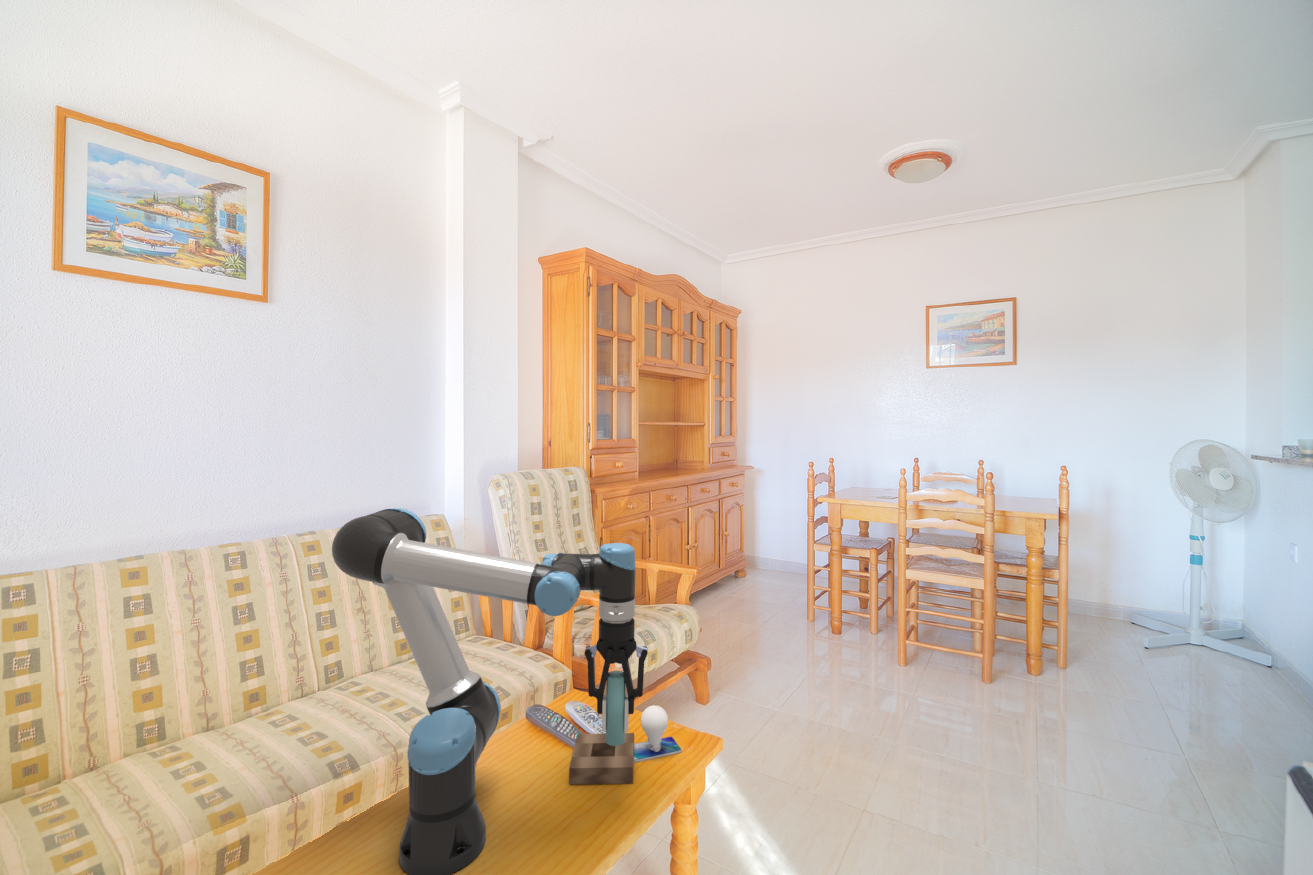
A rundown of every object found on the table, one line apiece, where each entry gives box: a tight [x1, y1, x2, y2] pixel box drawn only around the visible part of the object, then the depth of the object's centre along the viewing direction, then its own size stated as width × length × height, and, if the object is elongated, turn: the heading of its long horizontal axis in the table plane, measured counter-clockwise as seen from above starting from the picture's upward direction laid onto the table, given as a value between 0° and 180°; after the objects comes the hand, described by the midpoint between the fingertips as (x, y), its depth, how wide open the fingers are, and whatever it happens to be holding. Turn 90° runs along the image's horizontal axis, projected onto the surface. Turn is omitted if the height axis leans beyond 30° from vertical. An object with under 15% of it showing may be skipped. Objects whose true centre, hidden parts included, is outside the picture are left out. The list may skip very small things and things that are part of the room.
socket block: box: [568, 732, 635, 785], centre depth 130 cm, size 14×14×4 cm
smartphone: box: [634, 736, 683, 764], centre depth 136 cm, size 7×1×15 cm
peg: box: [605, 670, 626, 746], centre depth 118 cm, size 4×4×14 cm
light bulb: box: [640, 704, 669, 753], centre depth 135 cm, size 7×7×11 cm
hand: (615, 727), depth 118 cm, fingers closed on peg, 4 cm apart
